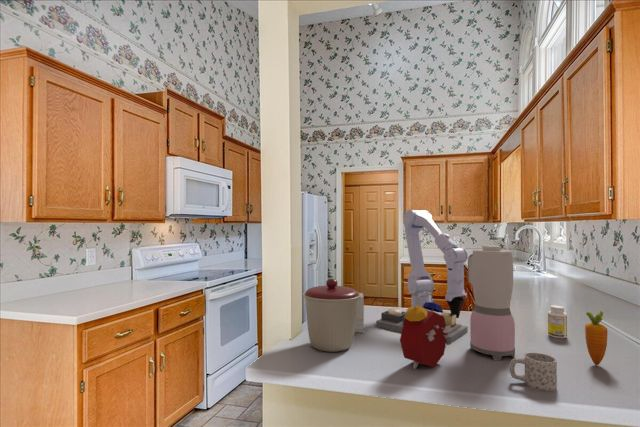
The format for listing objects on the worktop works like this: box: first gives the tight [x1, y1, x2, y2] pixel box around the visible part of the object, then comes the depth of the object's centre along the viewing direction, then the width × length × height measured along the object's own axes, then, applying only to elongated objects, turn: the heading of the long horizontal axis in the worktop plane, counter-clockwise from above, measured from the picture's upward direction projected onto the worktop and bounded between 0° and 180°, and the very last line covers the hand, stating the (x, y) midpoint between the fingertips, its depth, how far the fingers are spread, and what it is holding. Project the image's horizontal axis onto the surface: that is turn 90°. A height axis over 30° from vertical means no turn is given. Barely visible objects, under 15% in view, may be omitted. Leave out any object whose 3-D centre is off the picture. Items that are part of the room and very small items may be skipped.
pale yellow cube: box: [440, 312, 457, 328], centre depth 129 cm, size 4×4×4 cm
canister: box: [302, 278, 361, 353], centre depth 114 cm, size 18×18×21 cm
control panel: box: [375, 310, 469, 344], centre depth 133 cm, size 16×28×4 cm, turn 50°
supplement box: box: [355, 292, 365, 334], centre depth 132 cm, size 7×7×13 cm
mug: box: [509, 352, 558, 392], centre depth 89 cm, size 10×7×7 cm
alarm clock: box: [399, 291, 451, 370], centre depth 100 cm, size 15×9×20 cm, turn 133°
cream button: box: [387, 308, 403, 315], centre depth 139 cm, size 5×5×2 cm
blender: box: [467, 245, 516, 361], centre depth 112 cm, size 16×12×32 cm
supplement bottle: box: [547, 305, 568, 339], centre depth 126 cm, size 6×6×10 cm
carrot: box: [584, 310, 608, 367], centre depth 101 cm, size 5×5×15 cm
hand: (455, 317), depth 135 cm, fingers closed
